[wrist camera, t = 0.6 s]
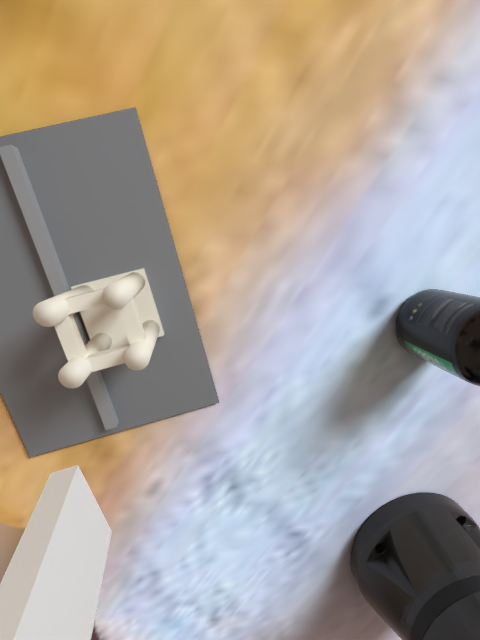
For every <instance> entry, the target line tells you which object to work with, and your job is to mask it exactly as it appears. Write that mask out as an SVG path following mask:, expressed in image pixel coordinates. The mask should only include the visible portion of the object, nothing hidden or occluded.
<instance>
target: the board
mask: <svg viewBox="0 0 480 640" xmlns="http://www.w3.org/2000/svg"><path fill="white" fill-rule="evenodd" d="M142 268H144V269H145V272H146V276H147V279H148V282H149V285H150V289H151V292H152V295H153V298H154V301H155V305H156V308H157V311H158V314H159V317H160V321H161V324H162V327H163V330H164V336H161V337H158V338H157V340H156V343H155V346H154V349H153V352H152V355H151V358H150V361H149V363H148V365H147V366H146V367H145V368H144V369H142V370H132V369H130V368H128V367H127V366H126V364H125V363H123V364H120V365H116V366H112V367H109V368H105V369H102V370H98V371H94V372H91V373H90V375H89V376H88V377H87V379H86V380H85V381H84V382H83V384H82V385H81V386H79V387H77V388H67V387H65V386H63V385H62V384H61V383H60V381H59V379H58V373H59V371H60V369H61V368H62V367H63V366H64V365H65V364H66V363H67V362H68V360H67V358H66V355H65V352H64V350H63V347H62V345H61V342H60V340H59V337H58V335H57V332H56V329H55V327H54V326H52V327H44V326H41V325H40V324H38V323H37V322H36V321H35V319H34V317H33V309H34V307H35V306H36V304H38V303H39V302H42V301H44V300H47V299H49V298H52V297H54V296H57V295H59V294H62V293H64V292H67V291H69V290H72V289H71V287H72V286H75V285H79V284H83V283H87V282H91V281H95V280H99V279H103V278H107V277H111V276H114V275H118V274H122V273H126V272H130V271H134V270H138V269H142ZM73 316H74V319H75V322H76V324H77V327H78V330H79V332H80V335H81V338H82V340H83V343H84V346H85V345H86V344H87V343H88V342H89V341H90V338H89V335H88V332H87V330H86V327H85V324H84V321H83V319H82V316H81V313H80V311H79V312H76V313H74V314H73ZM0 393H1V395H2V397H3V400H4V402H5V404H6V406H7V408H8V411H9V413H10V415H11V417H12V419H13V422H14V424H15V426H16V428H17V430H18V433H19V435H20V437H21V439H22V441H23V444H24V446H25V448H26V450H27V452H28V454H29V457H34V456H37V455H40V454H44V453H47V452H51V451H54V450H58V449H61V448H65V447H68V446H71V445H75V444H78V443H82V442H85V441H89V440H92V439H96V438H99V437H102V436H106V435H109V434H113V433H116V432H120V431H123V430H127V429H130V428H133V427H137V426H140V425H144V424H147V423H151V422H154V421H158V420H161V419H164V418H168V417H171V416H175V415H178V414H182V413H185V412H189V411H192V410H196V409H199V408H202V407H206V406H209V405H213V404H216V403H219V400H218V396H217V393H216V389H215V386H214V382H213V379H212V375H211V372H210V368H209V365H208V361H207V357H206V354H205V350H204V347H203V343H202V340H201V336H200V333H199V329H198V326H197V322H196V319H195V315H194V312H193V308H192V305H191V301H190V298H189V294H188V291H187V287H186V284H185V280H184V277H183V273H182V270H181V266H180V262H179V259H178V255H177V252H176V248H175V245H174V241H173V238H172V234H171V231H170V227H169V224H168V220H167V217H166V213H165V210H164V206H163V203H162V199H161V196H160V192H159V189H158V185H157V182H156V178H155V175H154V171H153V167H152V164H151V160H150V157H149V153H148V150H147V146H146V143H145V139H144V136H143V132H142V129H141V125H140V122H139V118H138V115H137V111H136V108H130V109H125V110H121V111H116V112H112V113H107V114H102V115H98V116H93V117H89V118H84V119H79V120H75V121H70V122H66V123H61V124H56V125H52V126H47V127H43V128H38V129H33V130H29V131H24V132H20V133H15V134H10V135H6V136H1V137H0Z"/></svg>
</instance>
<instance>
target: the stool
mask: <svg viewBox="0 0 480 640" xmlns="http://www.w3.org/2000/svg"><path fill="white" fill-rule="evenodd" d="M71 289H72V290H69V291H67V292H64V293H62V294H59V295H57V296H54V297H52V298H49V299H47V300H44V301H42V302H39V303H38V304H36V306H35V307H34V309H33V317H34V319H35V321H36V322H37V323H38V324H40V325H41V326H44V327H52V326H54V327H55V329H56V332H57V335H58V337H59V340H60V342H61V345H62V347H63V350H64V352H65V355H66V358H67V360H68V362H67V363H66V364H65V365H64V366H63V367H62V368H61V369H60V371H59V373H58V379H59V381H60V383H61V384H62V385H63V386H65V387H67V388H77V387H79V386H81V385H82V384H83V382H84V381H85V380H86V379H87V377H88V376H89V375H90V373H91V372H94V371H98V370H102V369H105V368H109V367H112V366H116V365H120V364H123V363H125V364H126V366H127V367H128V368H130V369H132V370H142V369H144V368H145V367H146V366H147V365H148V363H149V361H150V358H151V355H152V352H153V349H154V346H155V343H156V340H157V338H158V337H161V336H164V330H163V327H162V324H161V321H160V317H159V314H158V311H157V308H156V305H155V301H154V298H153V295H152V292H151V289H150V285H149V282H148V279H147V276H146V272H145V269H144V268H142V269H138V270H134V271H130V272H126V273H122V274H118V275H114V276H111V277H107V278H103V279H99V280H95V281H91V282H87V283H83V284H79V285H75V286H72V287H71ZM79 311H80V313H81V316H82V319H83V321H84V324H85V327H86V330H87V332H88V335H89V338H90V341H89V342H88V343H87V344H86V345H85V346H84V343H83V340H82V338H81V335H80V332H79V330H78V327H77V324H76V322H75V319H74V316H73V314H74V313H76V312H79Z"/></svg>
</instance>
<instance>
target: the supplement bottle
mask: <svg viewBox="0 0 480 640" xmlns="http://www.w3.org/2000/svg"><path fill="white" fill-rule="evenodd" d="M396 333H397V337H398V340H399V342H400V343H401V345H402V346H403V347H404V348H405V349H406V350H407V351H409V352H410V353H412V354H414V355H416V356H417V357H419V358H421V359H423V360H425V361H427V362H429V363H431V364H433V365H435V366H437V367H439V368H441V369H443V370H445V371H447V372H449V373H451V374H453V375H455V376H457V377H459V378H461V379H463V380H465V381H467V382H469V383H471V384H474V385H477V386H480V297H476V296H470V295H465V294H460V293H455V292H450V291H444V290H438V289H429V290H424V291H421V292H418V293H416V294H415V295H413V296H412V297H410V298H409V299H408V300H407V301H406V302H405V303H404V305H403V306H402V308H401V309H400V311H399V314H398V316H397V320H396Z"/></svg>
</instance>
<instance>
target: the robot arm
mask: <svg viewBox="0 0 480 640" xmlns="http://www.w3.org/2000/svg"><path fill="white" fill-rule="evenodd" d="M111 533H112V531H111V529H110V527H109V525H108V523H107V521H106V519H105V517H104V515H103V513H102V511H101V509H100V507H99V505H98V503H97V501H96V499H95V498H94V496H93V494H92V492H91V490H90V488H89V486H88V484H87V482H86V480H85V478H84V476H83V474H82V472H81V470H80V468H79V466H78V465H76V466H73V467H69V468H66V469H63V470H59V471H56V472H52V473H51V474H50V476H49V478H48V480H47V483H46V485H45V487H44V489H43V491H42V494H41V496H40V498H39V500H38V502H37V505H36V507H35V509H34V511H33V513H32V515H31V518H30V520H29V522H28V524H27V526H26V529H25V531H24V533H23V535H22V537H21V540H20V542H19V544H18V546H17V548H16V551H15V553H14V555H13V557H12V560H11V562H10V564H9V566H8V568H7V570H6V573H5V575H4V577H3V579H2V581H1V584H0V640H91V636H92V631H93V626H94V621H95V615H96V610H97V605H98V600H99V595H100V590H101V585H102V579H103V574H104V569H105V564H106V559H107V554H108V549H109V543H110V538H111ZM351 569H352V573H353V575H354V578H355V580H356V582H357V584H358V586H359V588H360V590H361V592H362V594H363V596H364V597H365V599H366V600H367V602H368V603H369V604H370V605H371V606H372V607H373V609H374V610H375V611H376V612H377V613H378V614H379V615H380V616H381V617H382V618H383V619H384V621H385V622H386V623H387V624H388V625H389V626H390V627H391V628H392V629H393V630H394V631H395V632H396V634H397V635H398V636H399V637H400V638H401V639H402V640H480V528H479V527H478V525H477V524H476V522H475V521H474V520H473V519H472V518H471V517H470V516H469V515H468V514H467V513H466V512H465V511H464V510H463V509H462V508H461V507H460V506H459V505H458V504H457V503H456V502H455V501H453V500H452V499H450V498H448V497H446V496H443V495H440V494H436V493H415V494H410V495H406V496H403V497H400V498H398V499H395V500H393V501H391V502H389V503H388V504H386V505H384V506H383V507H381V508H380V509H379V510H377V511H376V512H375V513H374V514H373V515H372V516H371V517H370V518H369V519H368V520H367V521H366V522H365V524H364V525H363V526H362V528H361V529H360V531H359V533H358V534H357V536H356V539H355V541H354V544H353V547H352V551H351Z"/></svg>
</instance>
